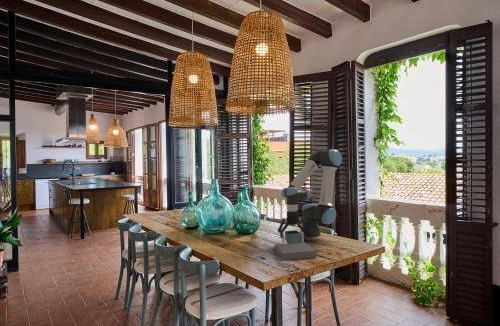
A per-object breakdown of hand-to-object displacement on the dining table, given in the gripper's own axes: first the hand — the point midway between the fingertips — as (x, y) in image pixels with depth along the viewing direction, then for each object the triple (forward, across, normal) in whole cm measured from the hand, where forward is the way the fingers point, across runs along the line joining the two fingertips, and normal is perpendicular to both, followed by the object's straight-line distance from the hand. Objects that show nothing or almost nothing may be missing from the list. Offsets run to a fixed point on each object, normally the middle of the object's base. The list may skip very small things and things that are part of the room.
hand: (292, 242), depth 227 cm
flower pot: (+2, 0, 0) cm, 2 cm away
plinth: (+2, -5, -20) cm, 21 cm away
